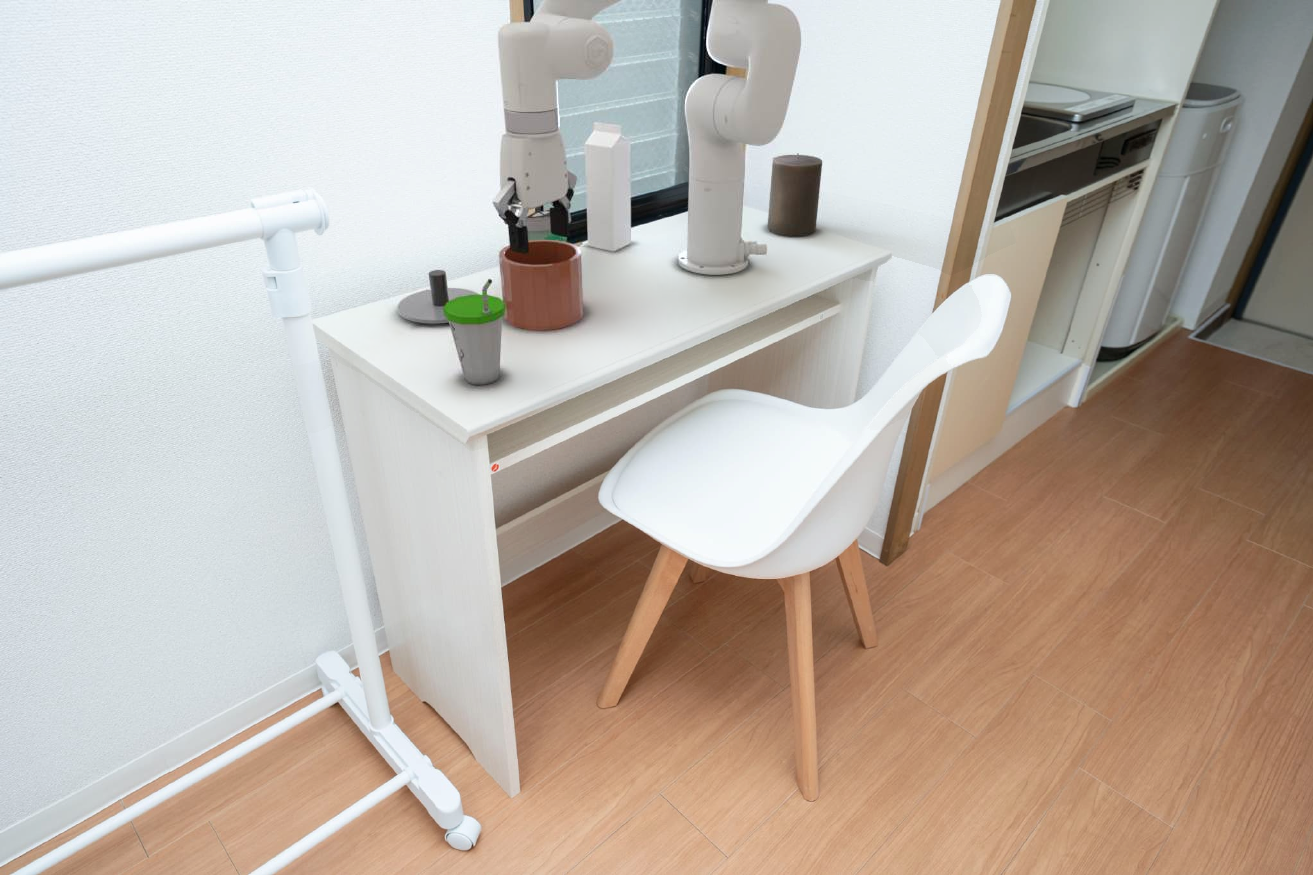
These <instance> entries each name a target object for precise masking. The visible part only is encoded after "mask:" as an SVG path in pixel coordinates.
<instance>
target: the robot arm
mask: <svg viewBox="0 0 1313 875" xmlns="http://www.w3.org/2000/svg"><path fill="white" fill-rule="evenodd" d="M622 2H626V0H542V1H541V3H540V4H539V6H538V7H537V9H536V11H535V12H534V13H533V15H532V17H531V19H530V21H518V22H517V21H516V22H510V23H505V24H503V25H502V26H500V28H499V29H498V32H497V47H498V60H499V71H500V83H501V94H502V104H503V106H502V108H503V117H504V130H505V133H504V134H502V135H501V141H500V149H499V187H500V190H499V192H498V193H497V194H496V196H495V197H494V198H493V200H492V205H493V207H494V208H495V211H496V212H497V213H498V216H499V218H500V219H501V220H503V223H504V224H505V225H507V229H508V230H507V231H508V242H509V245H510V249H511V250H512V251H515V252H519V253H523V254H526V253H528V252H529V243H528V230H527V226H523V225H524V222H525V219H526V217H527V216H528V213H529V211H530V210H533V209H536V208H540V207H542V206H544V205H547V204H550V205H551V206H552V207H549V210H550V226H551V233H552V234H554V235H558V236H562V237H567V238H568V237H570V223H569V217H568V211H567V210H569V211H570V209H571V207H572V204H571V201H572V199H573V197H574V194H575V187H576V184H577V182H578V181H577V180H578V176H577V175H576V174H574V173H573V172H571V171H570V170H568V165H567V156H566V149H565V148H566V147H565V143H564V137H563V133H562V129H561V128H560V127H561V126H560V108H559V90H558V81H559V80H580V81H586V80H593V79H596V78H598V77H601V76H602V75H604V74H605V73H606V72H607V71H608V70H609V68H611V65H612V63H613V61H614V57H615V44H614V40H613V37H612V36H611V34H610V33H609V31H608V30H607V29H606V28H605V27H604V26H603V25H602V24H600V23H598V22H596V21H593V19H594V18H596V17H597V16H598V15H599V14H601V13H602V12H604V11H605V10H607V9H609V8H611V7H613V6H615V5H617V4H620V3H622ZM705 42H706V44H705V45H706V50H707V53H708V55H709V57H710V58H711V59H712V60H713V61H714V62H716V63H718V64H721V65H723V66H727V67H732V68H738V69H744V70H748V71H747V77H746V78H744V77H741V76H735V75H729V74H723V73H711V74H705V75H703V76H701V77H699V78H697V79H696V80H694V82H692V83H691V85H690V87H689V88H688V91H687V92H686V96H685V102H684V118H685V123H686V124H685V125H686V129H687V136H688V147H689V150H688V151H689V168H688V169H689V170H688V197H687V198H688V199H687V200H688V201H687V203H688V204H687V208H688V209H687V231H686V232H687V236H686V241H687V242H686V249H685V250H683V251H682V252H680V253H679V254H678V256H677V263H678V265H679V266H680V267H681V268H682V269H683V270H686V271H688V272H691V273H695V274H701V275H709V276H721V275H722V276H723V275H730V274H735V273H736V274H737V273H739V272H741V271H744V270H745V269H747V267H748V265H749V257H750V255H756V256H766V255H767V253H768V246H767V243H758V241H757V240H749V241H745V240H744V239H743V238H742V226H743V212H744V211H743V210H744V196H745V195H744V194H745V180H746V179H745V178H746V158H745V152H744V148H743V145H742V144H744V145H748V146H755V147H761V146H765V145H768V144H770V143H772V141H774V140H775V139H776V137H778V135H779V134H780V132H781V130H782V128H783V126H784V123H785V120H786V116H787V113H788V109H789V105H790V99H791V95H792V91H793V87H794V82H795V77H796V73H797V68H798V64H799V60H800V55H801V47H802V32H801V26H800V23H799V20H798V18H797V16H796V14H795V12H794V11H792V10H791V9H790V8H788V7H787V6H785V5H782V4H778V3H770V2H769V0H712V3H711V9H710V13H709V19H708V25H707V30H706V41H705ZM518 210H519V211H518ZM517 211H518V214H516V212H517Z"/></svg>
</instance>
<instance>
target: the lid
mask: <svg viewBox="0 0 1313 875" xmlns="http://www.w3.org/2000/svg"><path fill="white" fill-rule="evenodd" d="M428 281H429V287H430V289H425V290H420V291H417V292H414V293H412V294H409V295H407V296H405V297H403V298H402V299H401V300H400V301H399V302H398V304H397V312H398V314H399V315H400V316H401V317H402V318H403V319H406V320H407V321H411V322H415V323H421V324H445V323H446V324H447V323H449V320H448V319H447V318H446V317H445V316H444V312H443V308H444V306H445V304H446V303H447V302H449V301H451V300H453V299H455V298H457V297H462V296H467V295H481V294H480V293H478V292H476V291H473V290H470V289H466V288H459V287H448V280H447V272H446V271H445V270H443V269H434V270H431V271H429V272H428Z"/></svg>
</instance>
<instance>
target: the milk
mask: <svg viewBox="0 0 1313 875" xmlns="http://www.w3.org/2000/svg"><path fill="white" fill-rule="evenodd" d="M631 160H632V158H631V140H629V139H628V138H627V137H625V136H624V135H622V125H618V124H611V123H604V122H597V121H596V122H595V121H594V122H593V131H592V133H591V134H590V136H588V138H587V139H586V141H585V142H584V164H585V166H584V167H585V192H586V194H585V195H586V223H587V226H586V227H587V228H586V229H587V246H588V247H592V248H596V249H600V250H605V251H609V252H615V251H618V250H620V249H622V248H624V247H626V246H629V245H630V244H631V243H632V204H631V203H632V194H631V193H632V188H631V187H632V182H631V181H632V180H631V179H632V176H631V172H632V171H631V169H632V168H631V167H632V166H631V165H632V164H631Z"/></svg>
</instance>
